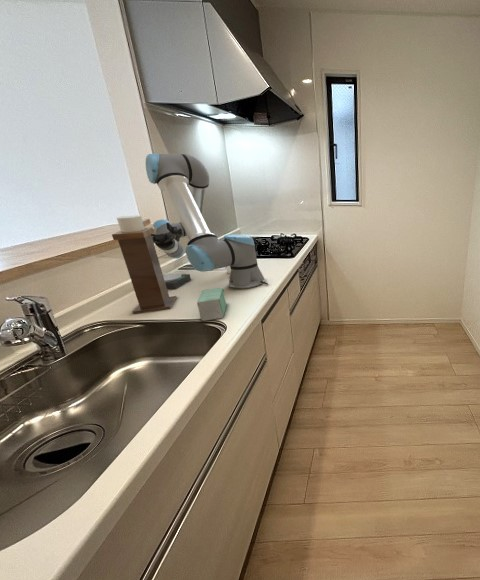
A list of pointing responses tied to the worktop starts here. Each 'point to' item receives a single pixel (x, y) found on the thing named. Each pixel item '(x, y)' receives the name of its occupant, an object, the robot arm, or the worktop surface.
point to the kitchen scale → (176, 280)
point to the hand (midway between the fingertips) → (148, 226)
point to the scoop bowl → (132, 223)
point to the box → (211, 304)
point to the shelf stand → (144, 270)
